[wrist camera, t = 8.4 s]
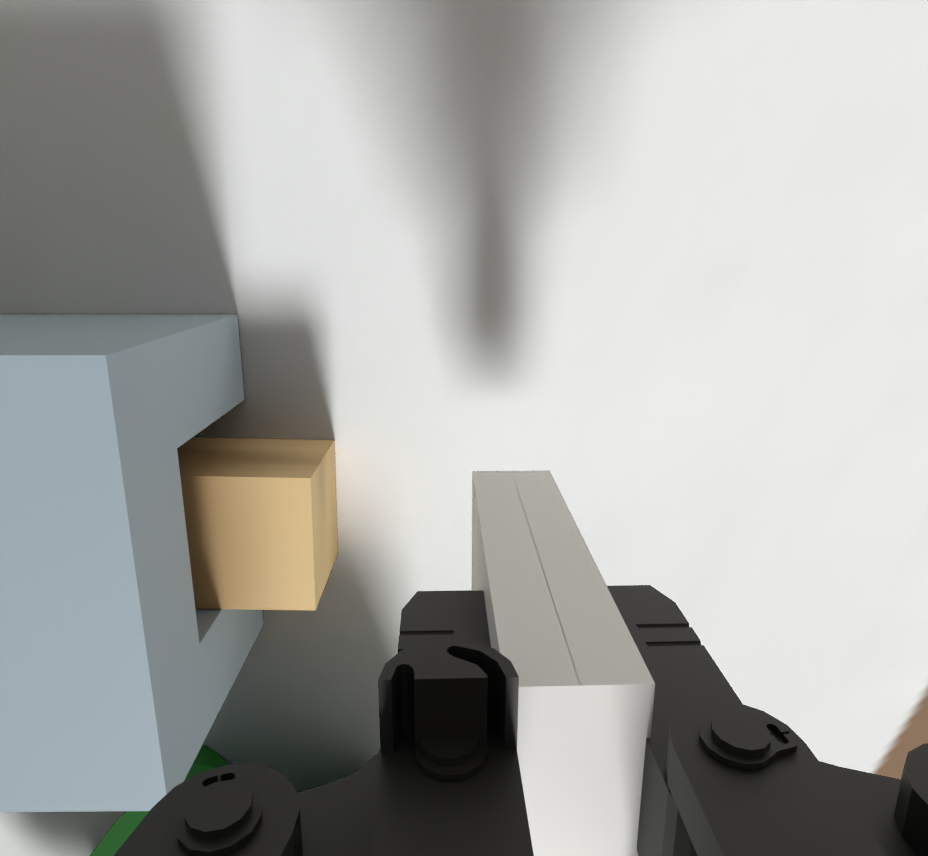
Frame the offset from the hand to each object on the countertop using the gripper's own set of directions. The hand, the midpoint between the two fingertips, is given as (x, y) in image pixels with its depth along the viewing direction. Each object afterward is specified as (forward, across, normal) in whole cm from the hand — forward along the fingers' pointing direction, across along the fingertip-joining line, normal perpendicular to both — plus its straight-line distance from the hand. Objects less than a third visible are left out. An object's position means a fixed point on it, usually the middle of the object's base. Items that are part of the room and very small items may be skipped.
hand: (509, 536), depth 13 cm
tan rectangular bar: (+4, -7, 0) cm, 8 cm away
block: (+4, -10, 0) cm, 11 cm away
